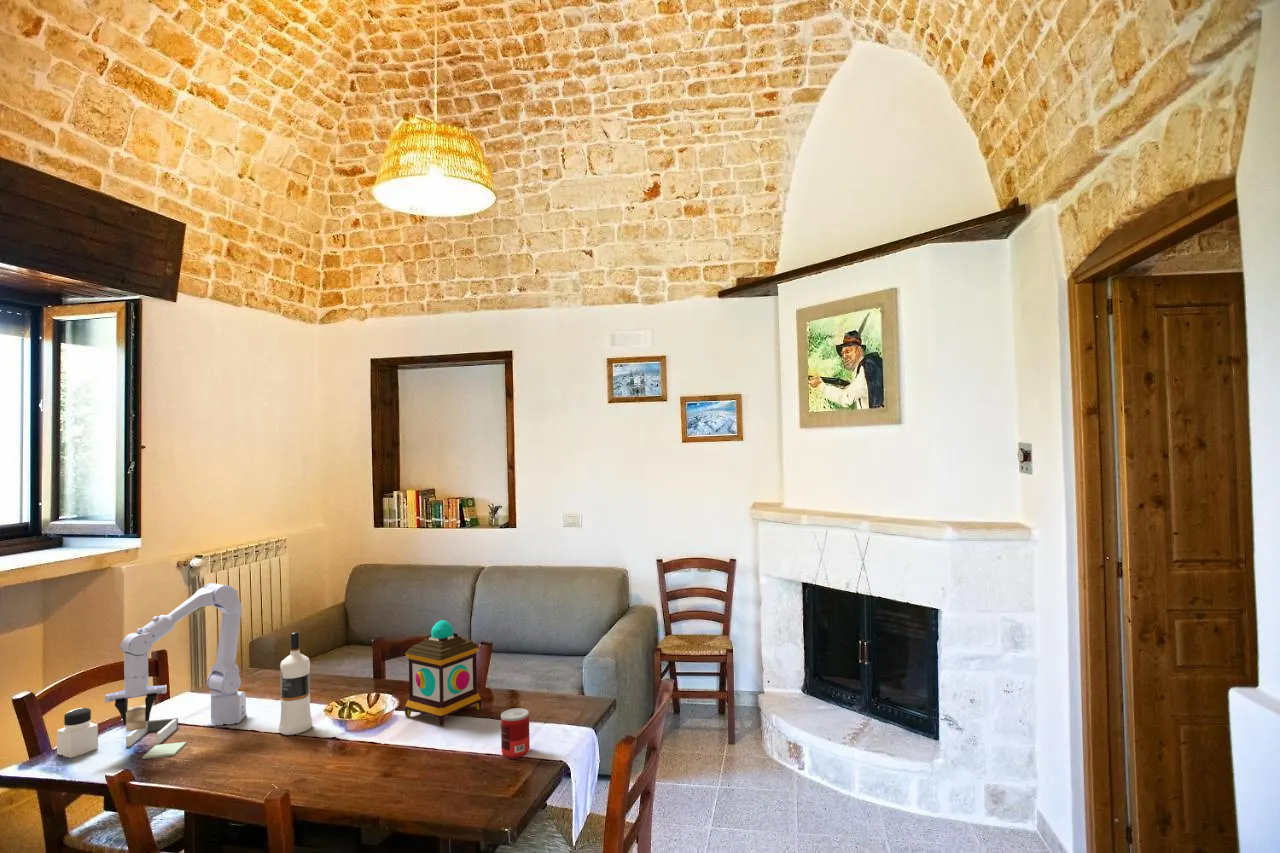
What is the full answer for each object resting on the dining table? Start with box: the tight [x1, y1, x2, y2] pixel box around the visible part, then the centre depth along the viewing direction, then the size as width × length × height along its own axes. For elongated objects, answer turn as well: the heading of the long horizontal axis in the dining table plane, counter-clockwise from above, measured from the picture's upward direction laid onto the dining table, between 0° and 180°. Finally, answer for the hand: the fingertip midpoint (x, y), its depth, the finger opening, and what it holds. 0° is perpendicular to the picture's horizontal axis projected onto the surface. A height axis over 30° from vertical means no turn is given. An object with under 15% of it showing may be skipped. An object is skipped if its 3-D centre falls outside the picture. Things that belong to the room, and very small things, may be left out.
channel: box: [125, 717, 179, 748], centre depth 213 cm, size 9×12×3 cm
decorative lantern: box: [404, 619, 482, 727], centre depth 227 cm, size 20×20×30 cm
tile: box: [142, 741, 187, 760], centre depth 202 cm, size 8×8×1 cm
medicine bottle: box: [56, 707, 99, 759], centre depth 204 cm, size 7×7×12 cm
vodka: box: [278, 631, 313, 736], centre depth 216 cm, size 9×9×30 cm
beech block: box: [125, 704, 147, 733], centre depth 204 cm, size 4×4×6 cm
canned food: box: [500, 707, 531, 759], centre depth 196 cm, size 8×8×11 cm
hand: (136, 722), depth 204 cm, fingers closed on beech block, 4 cm apart
